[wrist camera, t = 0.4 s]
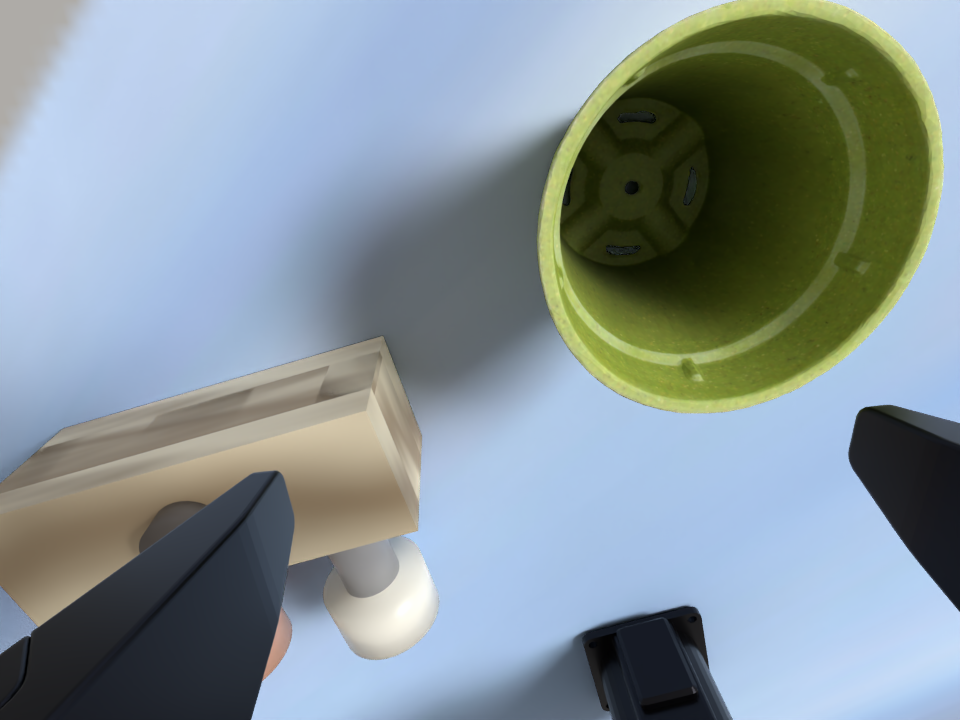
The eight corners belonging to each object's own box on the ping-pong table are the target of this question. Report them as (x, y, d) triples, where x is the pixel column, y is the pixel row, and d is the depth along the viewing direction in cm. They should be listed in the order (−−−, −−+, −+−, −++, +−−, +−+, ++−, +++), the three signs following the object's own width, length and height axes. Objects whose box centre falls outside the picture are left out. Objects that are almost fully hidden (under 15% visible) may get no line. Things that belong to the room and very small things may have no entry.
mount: (421, 435, 24) (417, 552, 18) (127, 518, 25) (24, 657, 19) (382, 335, 22) (362, 427, 16) (63, 428, 23) (-79, 552, 17)
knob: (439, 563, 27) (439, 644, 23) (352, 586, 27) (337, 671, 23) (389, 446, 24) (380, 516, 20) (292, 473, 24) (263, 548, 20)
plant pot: (500, 311, 22) (535, 424, 14) (497, 42, 18) (544, -2, 10) (726, 300, 23) (878, 404, 15) (771, 37, 19) (1010, -10, 11)
